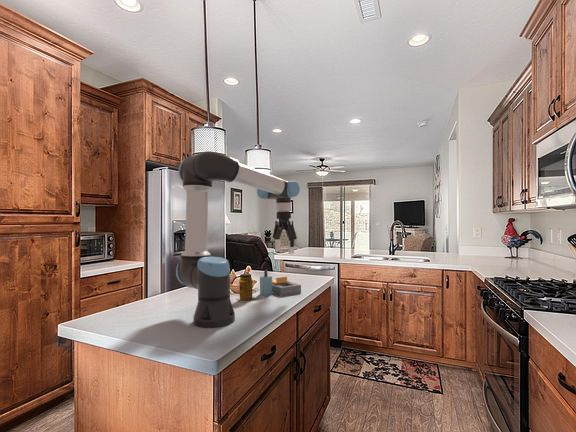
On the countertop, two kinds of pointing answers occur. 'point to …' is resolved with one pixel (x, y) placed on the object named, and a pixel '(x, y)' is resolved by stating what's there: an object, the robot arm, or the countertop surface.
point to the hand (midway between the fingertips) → (284, 252)
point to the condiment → (246, 288)
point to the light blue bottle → (265, 284)
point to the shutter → (280, 280)
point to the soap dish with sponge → (286, 288)
